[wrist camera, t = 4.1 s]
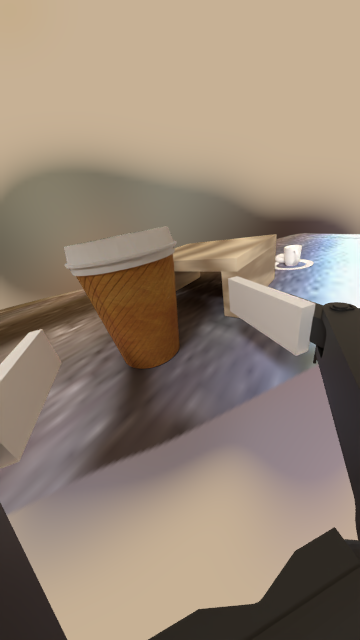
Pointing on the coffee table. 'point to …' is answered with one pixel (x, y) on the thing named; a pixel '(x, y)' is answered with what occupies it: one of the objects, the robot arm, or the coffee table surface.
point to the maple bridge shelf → (227, 262)
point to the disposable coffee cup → (132, 292)
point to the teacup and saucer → (291, 258)
